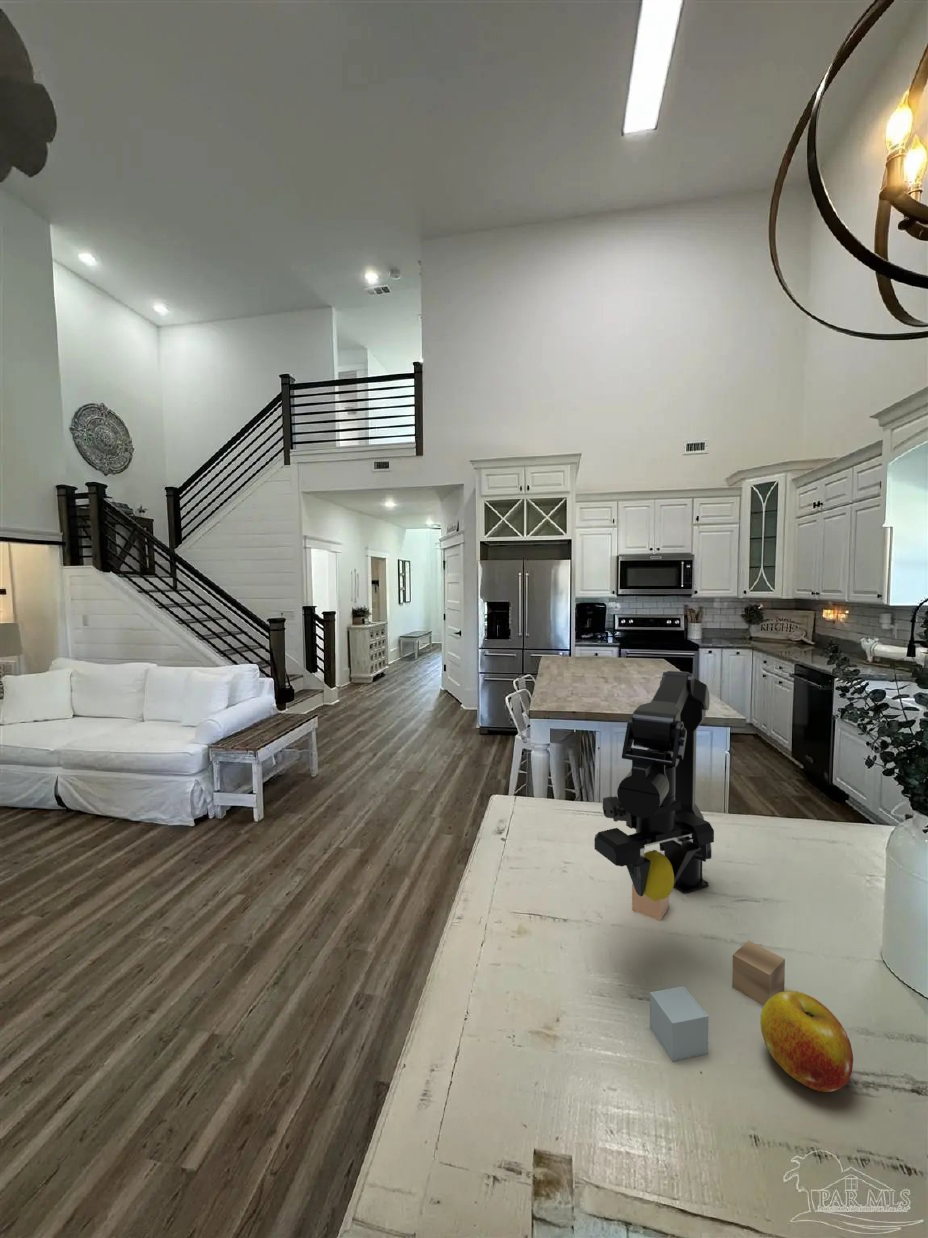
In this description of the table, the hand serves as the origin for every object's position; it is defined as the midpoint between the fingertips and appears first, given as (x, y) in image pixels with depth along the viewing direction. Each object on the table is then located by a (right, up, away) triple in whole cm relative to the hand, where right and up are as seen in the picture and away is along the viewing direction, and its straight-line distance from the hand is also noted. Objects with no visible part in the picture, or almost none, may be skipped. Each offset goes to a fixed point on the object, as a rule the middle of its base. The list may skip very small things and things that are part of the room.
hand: (654, 890), depth 79 cm
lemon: (0, -2, 0) cm, 2 cm away
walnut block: (+13, -12, -5) cm, 18 cm away
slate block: (-2, -13, -13) cm, 18 cm away
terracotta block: (+5, -11, +14) cm, 18 cm away
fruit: (+12, -13, -17) cm, 24 cm away
